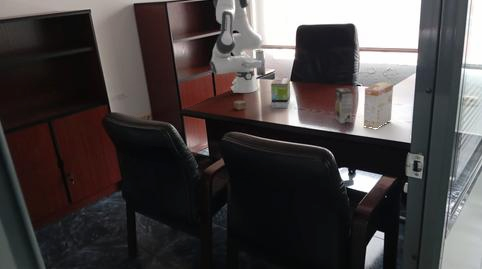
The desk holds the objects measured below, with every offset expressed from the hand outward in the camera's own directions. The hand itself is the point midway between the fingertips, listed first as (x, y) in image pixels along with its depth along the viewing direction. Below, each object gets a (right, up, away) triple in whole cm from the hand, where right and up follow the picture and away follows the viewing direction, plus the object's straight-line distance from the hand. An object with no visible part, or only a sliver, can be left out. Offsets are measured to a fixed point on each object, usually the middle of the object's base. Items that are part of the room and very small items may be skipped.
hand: (261, 60), depth 229 cm
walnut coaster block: (-12, -27, +11) cm, 31 cm away
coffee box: (+41, -35, -21) cm, 58 cm away
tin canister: (0, -8, +3) cm, 8 cm away
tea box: (+12, -24, +13) cm, 30 cm away
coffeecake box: (+55, -37, -31) cm, 73 cm away
